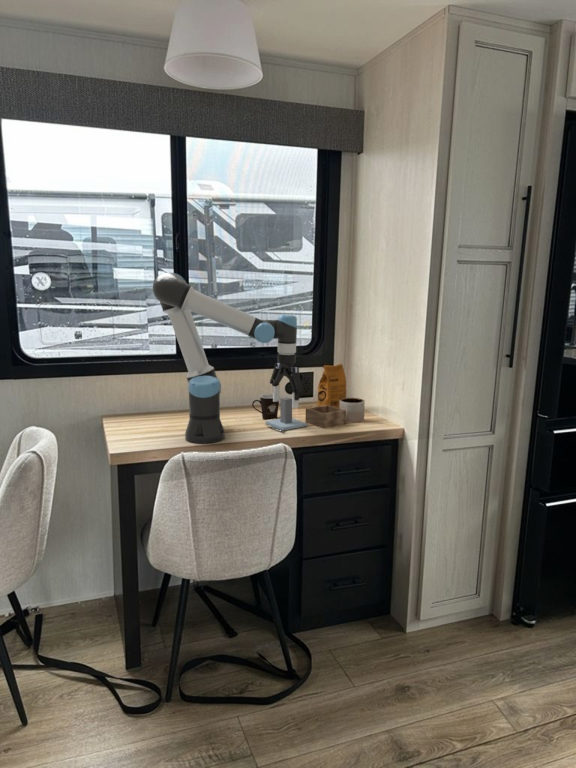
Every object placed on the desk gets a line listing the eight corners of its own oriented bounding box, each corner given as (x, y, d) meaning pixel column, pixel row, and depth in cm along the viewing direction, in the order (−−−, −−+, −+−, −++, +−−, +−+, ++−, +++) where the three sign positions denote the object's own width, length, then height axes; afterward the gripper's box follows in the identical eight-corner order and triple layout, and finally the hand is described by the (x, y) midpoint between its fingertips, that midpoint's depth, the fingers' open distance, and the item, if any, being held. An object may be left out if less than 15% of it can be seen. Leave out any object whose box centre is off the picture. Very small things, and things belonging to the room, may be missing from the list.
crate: (323, 430, 238) (323, 414, 237) (305, 424, 248) (305, 408, 247) (345, 426, 245) (345, 410, 244) (327, 420, 255) (327, 404, 253)
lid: (282, 433, 234) (282, 403, 231) (265, 427, 244) (265, 397, 241) (307, 429, 241) (307, 399, 238) (289, 422, 251) (289, 394, 248)
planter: (346, 425, 246) (346, 403, 245) (334, 419, 256) (335, 398, 255) (368, 423, 250) (369, 401, 249) (356, 417, 260) (357, 396, 259)
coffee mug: (280, 416, 261) (280, 394, 259) (278, 421, 253) (278, 398, 251) (254, 415, 262) (254, 393, 261) (251, 420, 254) (251, 397, 252)
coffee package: (314, 410, 274) (315, 364, 270) (336, 407, 280) (337, 362, 276) (326, 414, 265) (327, 367, 261) (348, 411, 271) (349, 365, 267)
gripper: (313, 356, 229) (311, 409, 232) (277, 349, 248) (275, 398, 252) (297, 358, 224) (295, 411, 228) (262, 350, 244) (261, 399, 248)
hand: (285, 404), depth 240 cm, fingers open, 13 cm apart
